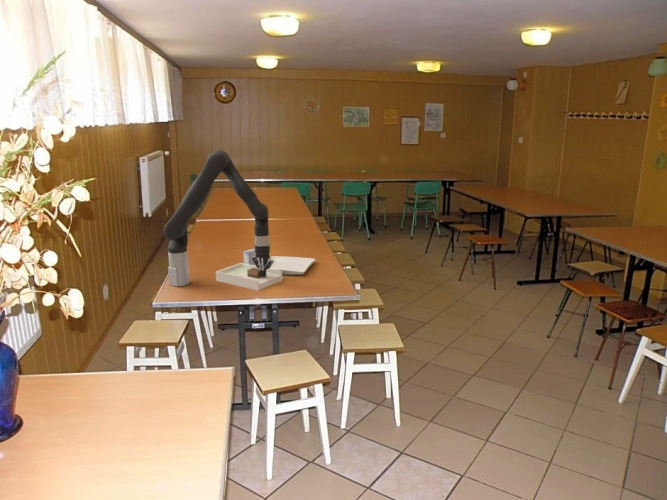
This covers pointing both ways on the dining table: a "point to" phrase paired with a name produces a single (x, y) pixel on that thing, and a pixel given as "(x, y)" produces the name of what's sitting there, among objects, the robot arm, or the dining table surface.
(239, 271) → the box
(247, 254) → the medicine box
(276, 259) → the square plate
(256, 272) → the walnut block
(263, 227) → the robot arm
